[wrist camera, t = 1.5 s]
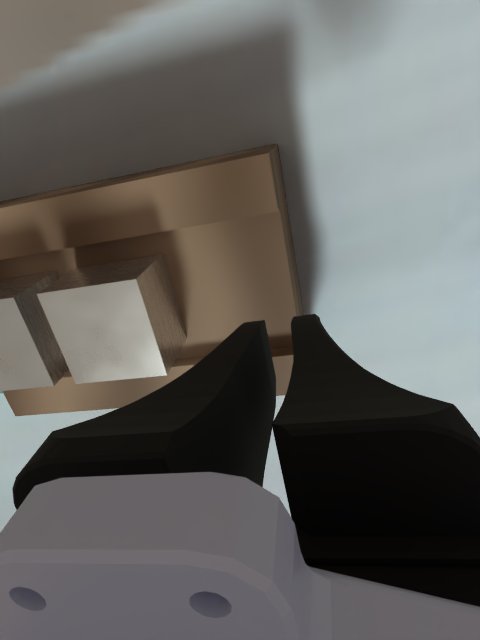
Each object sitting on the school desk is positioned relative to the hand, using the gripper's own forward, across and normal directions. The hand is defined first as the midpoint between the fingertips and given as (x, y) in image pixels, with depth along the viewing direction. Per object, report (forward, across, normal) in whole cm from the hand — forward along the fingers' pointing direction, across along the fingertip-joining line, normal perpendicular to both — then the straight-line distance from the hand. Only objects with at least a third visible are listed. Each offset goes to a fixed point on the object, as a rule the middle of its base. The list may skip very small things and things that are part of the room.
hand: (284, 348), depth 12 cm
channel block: (+9, +8, 0) cm, 12 cm away
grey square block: (+5, +7, 0) cm, 9 cm away
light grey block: (+5, +12, 0) cm, 13 cm away
